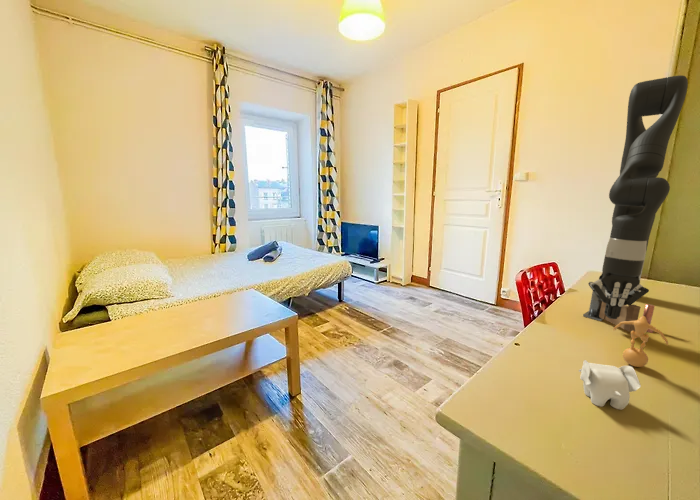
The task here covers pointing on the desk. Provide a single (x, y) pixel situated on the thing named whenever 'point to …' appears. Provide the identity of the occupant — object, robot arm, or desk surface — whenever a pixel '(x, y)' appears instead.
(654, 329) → the figurine
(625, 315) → the gate
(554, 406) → the desk surface
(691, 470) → the desk surface
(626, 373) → the elephant figurine
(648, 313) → the gate posts
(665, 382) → the desk surface
